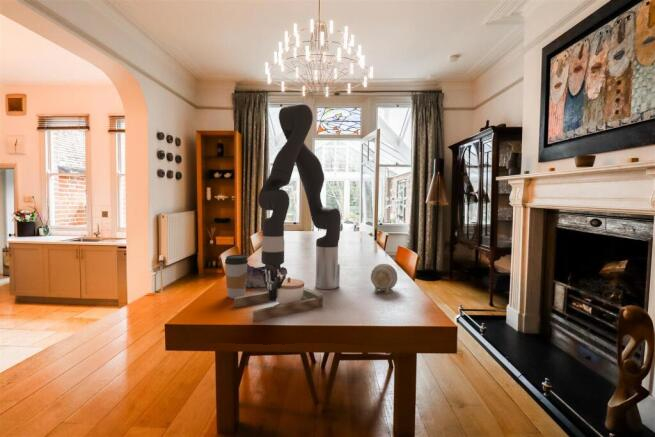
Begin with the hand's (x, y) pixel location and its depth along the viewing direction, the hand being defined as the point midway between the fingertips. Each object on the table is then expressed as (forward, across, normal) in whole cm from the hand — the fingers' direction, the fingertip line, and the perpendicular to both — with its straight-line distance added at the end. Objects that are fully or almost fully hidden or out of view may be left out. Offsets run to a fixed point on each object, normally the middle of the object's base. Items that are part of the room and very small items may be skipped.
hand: (272, 300), depth 111 cm
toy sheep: (+2, -7, -47) cm, 48 cm away
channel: (+3, 0, -3) cm, 4 cm away
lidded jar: (+3, 0, -6) cm, 7 cm away
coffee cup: (+3, +19, +5) cm, 20 cm away
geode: (+3, +28, -10) cm, 29 cm away
